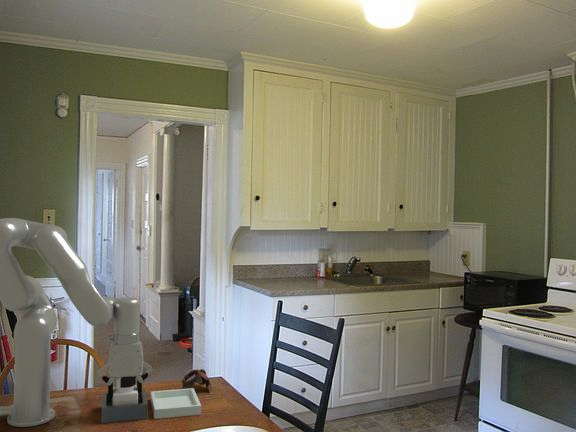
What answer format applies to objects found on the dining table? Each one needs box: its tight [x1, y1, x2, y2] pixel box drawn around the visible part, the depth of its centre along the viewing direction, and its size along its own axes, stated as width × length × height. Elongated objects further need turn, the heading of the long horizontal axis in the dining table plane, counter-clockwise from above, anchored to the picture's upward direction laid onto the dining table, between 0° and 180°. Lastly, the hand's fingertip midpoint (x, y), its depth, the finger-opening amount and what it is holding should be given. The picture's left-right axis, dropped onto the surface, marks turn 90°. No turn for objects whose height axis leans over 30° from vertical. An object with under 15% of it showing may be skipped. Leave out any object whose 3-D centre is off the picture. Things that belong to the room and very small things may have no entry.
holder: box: [100, 389, 149, 424], centre depth 157 cm, size 13×13×4 cm
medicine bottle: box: [112, 376, 138, 406], centre depth 157 cm, size 7×7×12 cm
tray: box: [150, 388, 202, 420], centre depth 163 cm, size 14×16×3 cm
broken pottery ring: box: [181, 368, 213, 394], centre depth 180 cm, size 12×10×8 cm
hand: (124, 395), depth 157 cm, fingers closed on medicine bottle, 7 cm apart
